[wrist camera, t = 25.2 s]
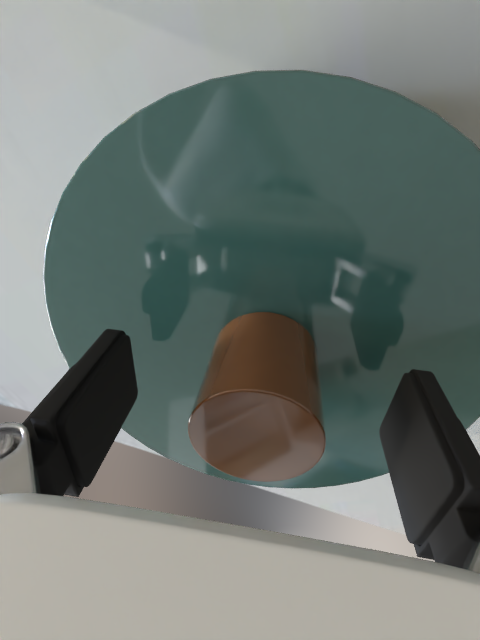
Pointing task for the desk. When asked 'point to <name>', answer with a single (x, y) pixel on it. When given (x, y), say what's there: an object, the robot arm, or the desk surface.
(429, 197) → the lid
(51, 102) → the desk surface
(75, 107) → the desk surface
